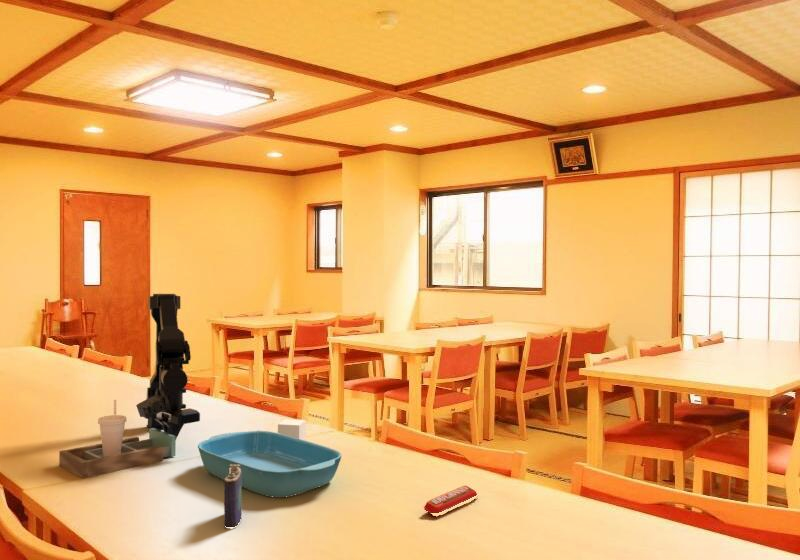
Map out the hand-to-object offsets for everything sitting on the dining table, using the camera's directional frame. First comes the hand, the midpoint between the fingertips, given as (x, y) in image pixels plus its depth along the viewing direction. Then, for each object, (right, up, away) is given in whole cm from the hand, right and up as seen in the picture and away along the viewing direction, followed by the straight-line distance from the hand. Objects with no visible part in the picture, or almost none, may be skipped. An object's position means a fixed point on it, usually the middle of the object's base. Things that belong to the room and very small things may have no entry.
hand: (170, 445), depth 172 cm
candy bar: (+70, -4, -36) cm, 79 cm away
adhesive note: (+30, -2, +9) cm, 31 cm away
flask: (+28, -3, -45) cm, 53 cm away
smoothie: (-10, -1, -11) cm, 15 cm away
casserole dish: (+29, -3, -20) cm, 35 cm away
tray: (-7, -1, -8) cm, 11 cm away
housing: (-10, -2, -11) cm, 15 cm away
